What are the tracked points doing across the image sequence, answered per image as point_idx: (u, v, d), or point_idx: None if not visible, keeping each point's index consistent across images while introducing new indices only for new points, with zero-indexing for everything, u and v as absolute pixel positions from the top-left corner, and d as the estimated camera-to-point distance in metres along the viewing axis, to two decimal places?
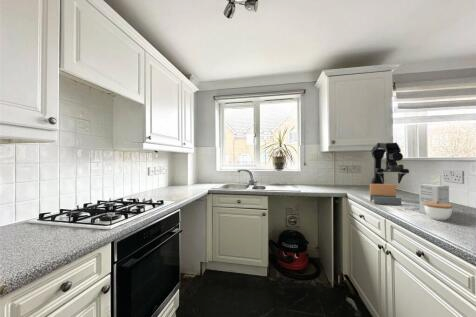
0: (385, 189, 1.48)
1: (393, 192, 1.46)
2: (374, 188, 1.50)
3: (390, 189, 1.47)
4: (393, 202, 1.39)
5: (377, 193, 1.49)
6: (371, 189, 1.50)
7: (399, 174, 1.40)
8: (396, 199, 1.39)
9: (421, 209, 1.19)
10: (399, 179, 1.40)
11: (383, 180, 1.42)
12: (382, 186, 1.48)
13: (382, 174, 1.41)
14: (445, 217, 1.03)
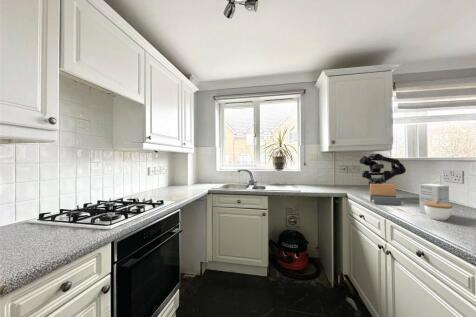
0: (385, 189, 1.48)
1: (393, 192, 1.46)
2: (374, 188, 1.50)
3: (390, 189, 1.47)
4: (393, 202, 1.39)
5: (377, 193, 1.49)
6: (371, 189, 1.50)
7: (383, 176, 1.59)
8: (396, 199, 1.39)
9: (421, 209, 1.19)
10: (384, 179, 1.56)
11: (372, 179, 1.58)
12: (382, 186, 1.48)
13: (369, 174, 1.60)
14: (445, 217, 1.03)
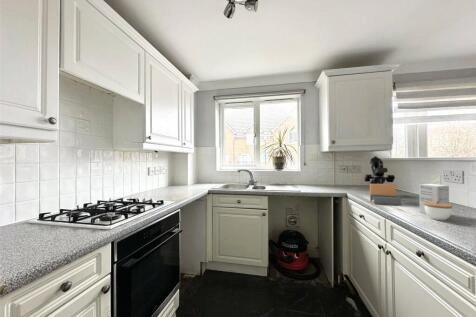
0: (385, 189, 1.48)
1: (393, 192, 1.46)
2: (374, 188, 1.50)
3: (390, 189, 1.47)
4: (393, 202, 1.39)
5: (377, 193, 1.49)
6: (371, 189, 1.50)
7: (380, 180, 1.53)
8: (396, 199, 1.39)
9: (421, 209, 1.19)
10: (381, 183, 1.50)
11: None
12: (382, 186, 1.48)
13: (378, 178, 1.52)
14: (445, 217, 1.03)
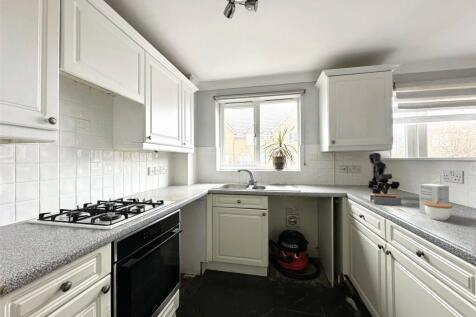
0: None
1: None
2: None
3: None
4: (393, 202, 1.39)
5: None
6: None
7: (384, 187, 1.46)
8: (396, 199, 1.39)
9: (421, 209, 1.19)
10: (385, 190, 1.43)
11: (385, 191, 1.43)
12: (385, 195, 1.42)
13: (382, 185, 1.45)
14: (445, 217, 1.03)
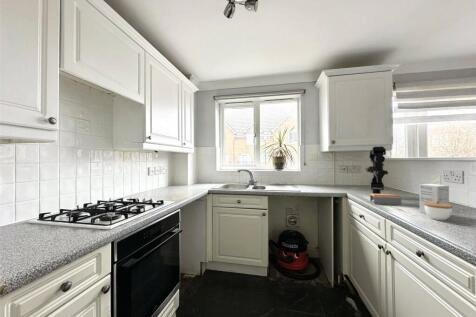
0: None
1: None
2: None
3: None
4: (393, 202, 1.39)
5: None
6: (373, 195, 1.47)
7: None
8: (396, 199, 1.39)
9: (421, 209, 1.19)
10: (377, 179, 1.56)
11: (377, 180, 1.57)
12: (385, 196, 1.42)
13: (374, 174, 1.58)
14: (445, 217, 1.03)
